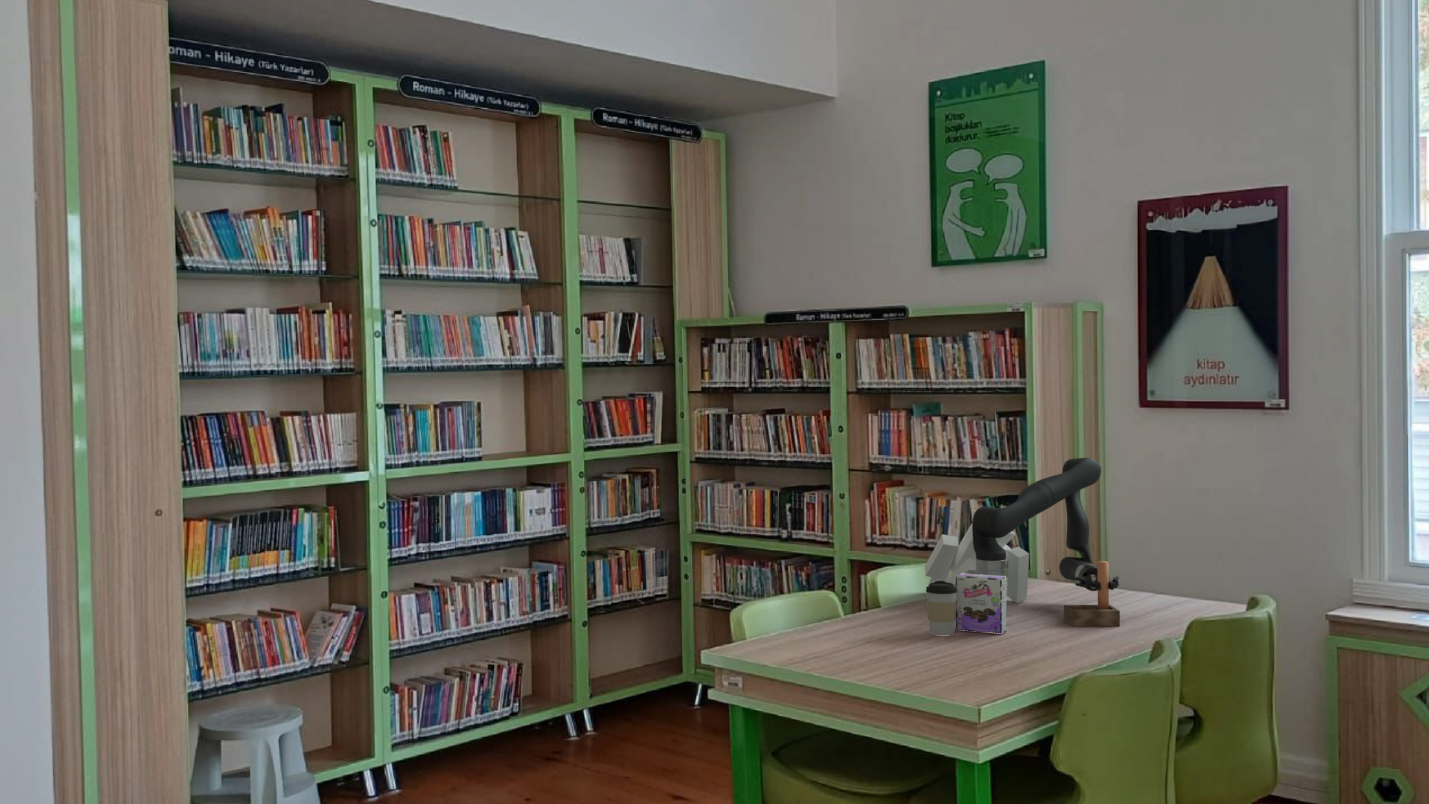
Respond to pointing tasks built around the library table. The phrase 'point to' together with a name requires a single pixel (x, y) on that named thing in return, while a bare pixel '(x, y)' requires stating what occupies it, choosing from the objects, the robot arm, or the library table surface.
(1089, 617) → the hole block
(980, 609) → the candy box
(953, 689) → the library table surface
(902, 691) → the library table surface
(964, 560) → the pile of blocks
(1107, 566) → the peg
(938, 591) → the coffee cup
